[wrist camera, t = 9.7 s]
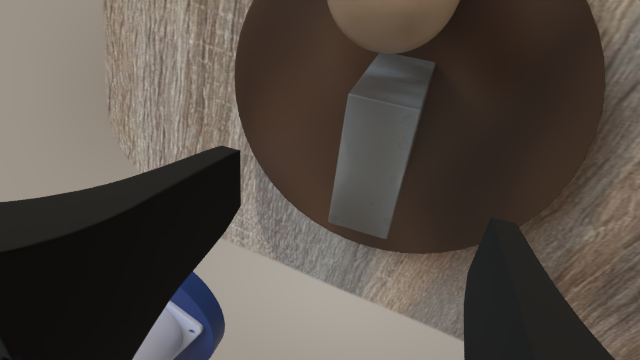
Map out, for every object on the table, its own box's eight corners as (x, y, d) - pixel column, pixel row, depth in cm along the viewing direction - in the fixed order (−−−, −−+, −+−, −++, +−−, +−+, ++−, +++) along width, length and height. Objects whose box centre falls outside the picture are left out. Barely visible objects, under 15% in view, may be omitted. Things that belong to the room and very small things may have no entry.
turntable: (696, -77, 13) (1092, -68, 4) (512, 274, 21) (532, 500, 13) (247, -132, 16) (-10, -187, 7) (244, 195, 24) (121, 337, 16)
